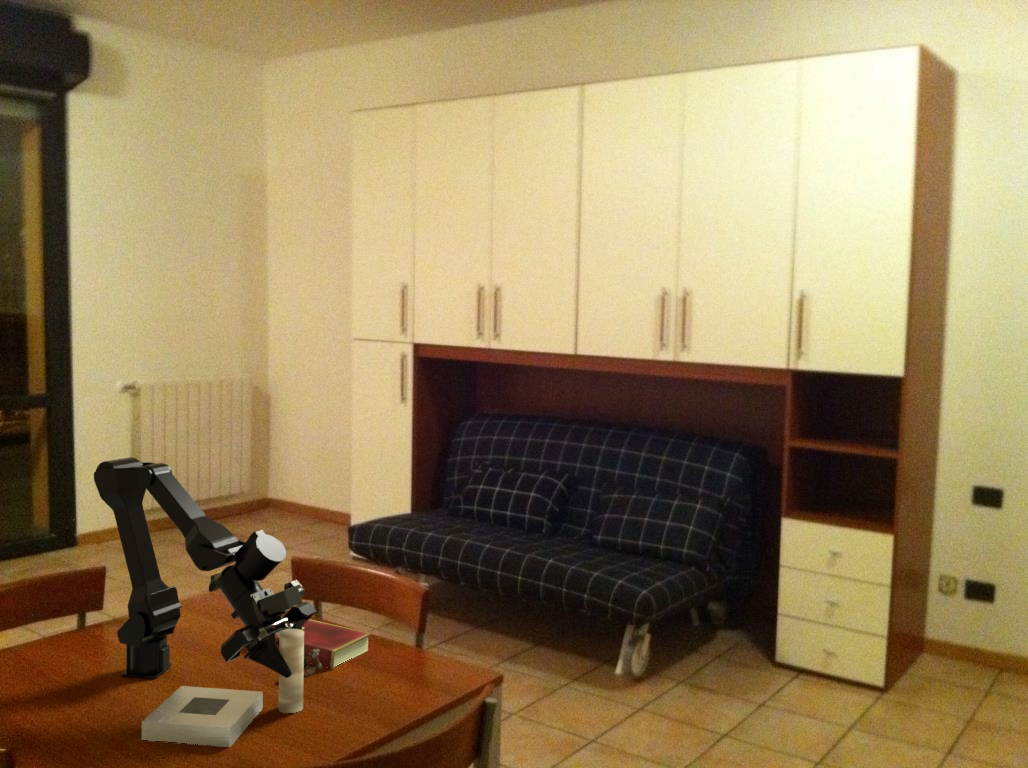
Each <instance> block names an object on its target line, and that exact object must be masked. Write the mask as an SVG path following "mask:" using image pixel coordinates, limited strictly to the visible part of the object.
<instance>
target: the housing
mask: <svg viewBox="0 0 1028 768" xmlns="http://www.w3.org/2000/svg"><path fill="white" fill-rule="evenodd" d="M263 692H264V691H259V690H258V691H256V690H243V689H228V688H217V687H201V686H188V685H180V686H179V688H177V690H175V691H174V692H173V693H172V694H171V695H169V697H167V699H165V700H164V701H163V702H162V703H161V704H160V705H158V707H156V708H155V709H154V710H153V711H152V712H151V713H149V714H148V715H147V716H146V717H145V718H144V719H142V720H141V741H142V740H148V741H147V742H155V741H168V742H177V743H176V744H181V743H185V744H186V743H187V744H186V745H194V746H195V744H196V745H197V744H198V745H197V746H207V745H208V747H220V748H221V747H222V748H231V747H232V745H233V744H234V743H236V741H237V740H238V739H239V738H240V736H241V735H242V734H243V733H244V731H246V729H247V728H248V727H249V726H250V724H251V723H252V722H253V721H254V720H255V719H254V718H257V716H258V715H259V714H260V713H261V711H262V710H263V708H264V707H263V702H264V701H263V695H264V693H263ZM259 712H260V713H259ZM253 719H254V720H253ZM248 725H249V726H248ZM168 742H167V743H168ZM185 744H184V745H185ZM209 745H210V746H209Z"/></svg>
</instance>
